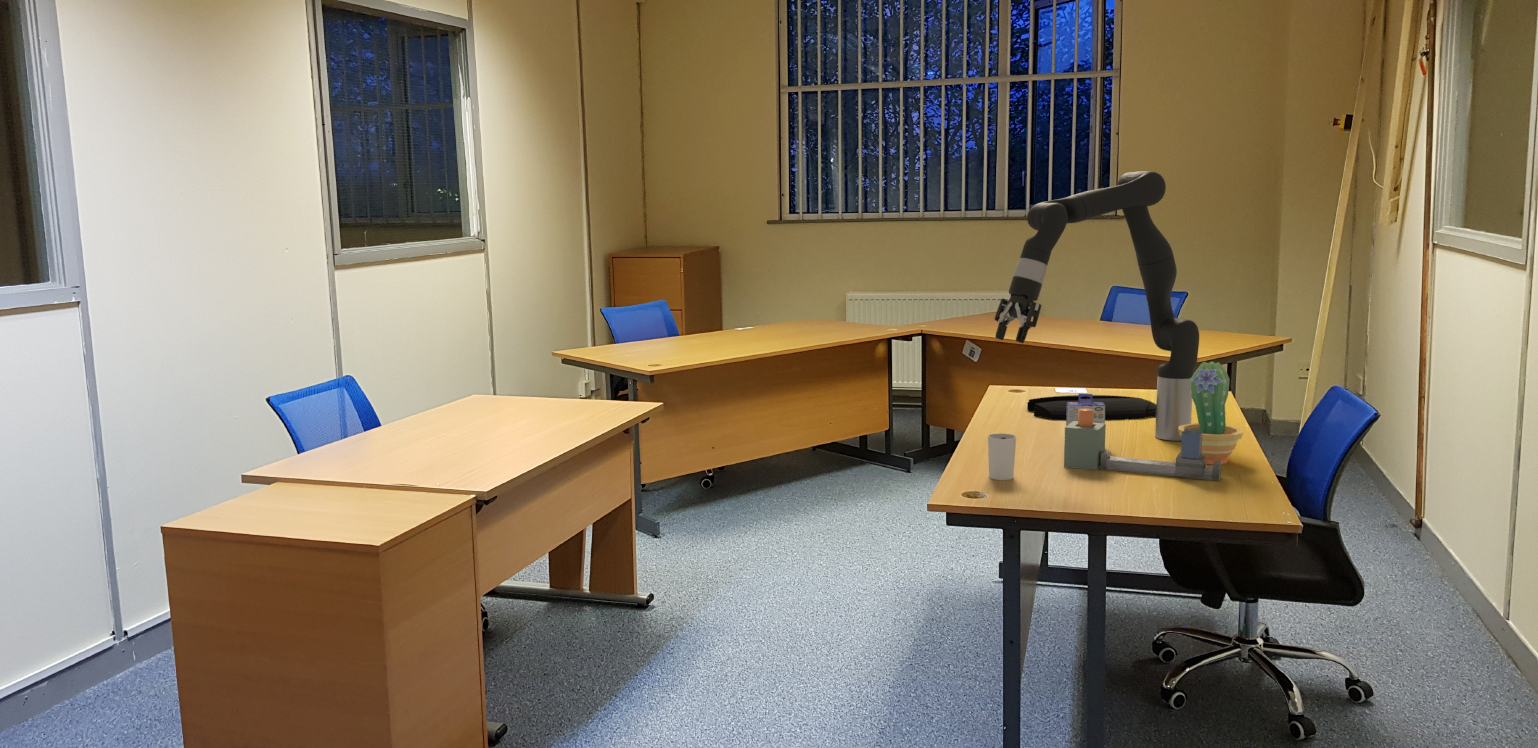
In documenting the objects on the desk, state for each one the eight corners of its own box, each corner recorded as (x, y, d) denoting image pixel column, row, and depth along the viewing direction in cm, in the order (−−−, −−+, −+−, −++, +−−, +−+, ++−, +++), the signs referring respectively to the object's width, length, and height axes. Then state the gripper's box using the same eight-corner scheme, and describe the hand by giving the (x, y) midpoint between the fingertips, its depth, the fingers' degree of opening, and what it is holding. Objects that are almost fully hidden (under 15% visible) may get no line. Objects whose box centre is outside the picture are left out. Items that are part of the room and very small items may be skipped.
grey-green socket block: (1072, 459, 270) (1073, 420, 269) (1104, 462, 267) (1105, 423, 265) (1063, 466, 263) (1064, 427, 261) (1096, 470, 259) (1098, 430, 257)
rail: (1103, 465, 263) (1104, 449, 263) (1220, 477, 251) (1221, 460, 250) (1100, 469, 260) (1100, 453, 259) (1218, 480, 247) (1219, 464, 247)
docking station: (1174, 420, 319) (1175, 404, 319) (1040, 422, 320) (1040, 406, 319) (1146, 406, 344) (1147, 390, 343) (1021, 407, 345) (1021, 392, 344)
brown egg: (1079, 433, 266) (1080, 408, 265) (1094, 434, 264) (1094, 409, 263) (1076, 435, 263) (1076, 410, 262) (1091, 437, 261) (1091, 411, 260)
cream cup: (984, 473, 257) (985, 433, 256) (1012, 473, 257) (1013, 433, 255) (989, 480, 250) (990, 439, 249) (1018, 480, 250) (1018, 439, 249)
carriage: (1179, 468, 256) (1180, 427, 255) (1205, 471, 253) (1207, 430, 252) (1175, 474, 250) (1176, 433, 249) (1202, 477, 248) (1204, 435, 246)
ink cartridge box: (1102, 446, 285) (1104, 393, 283) (1105, 450, 279) (1106, 396, 277) (1064, 445, 287) (1066, 392, 285) (1066, 449, 281) (1067, 396, 279)
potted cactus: (1162, 457, 271) (1166, 360, 268) (1208, 451, 277) (1212, 356, 274) (1209, 470, 257) (1214, 368, 254) (1256, 463, 263) (1261, 364, 260)
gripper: (1057, 285, 262) (1037, 347, 262) (1022, 282, 275) (1003, 342, 275) (1034, 276, 259) (1014, 339, 259) (999, 273, 272) (981, 333, 272)
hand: (1008, 340), depth 267 cm, fingers open, 8 cm apart
